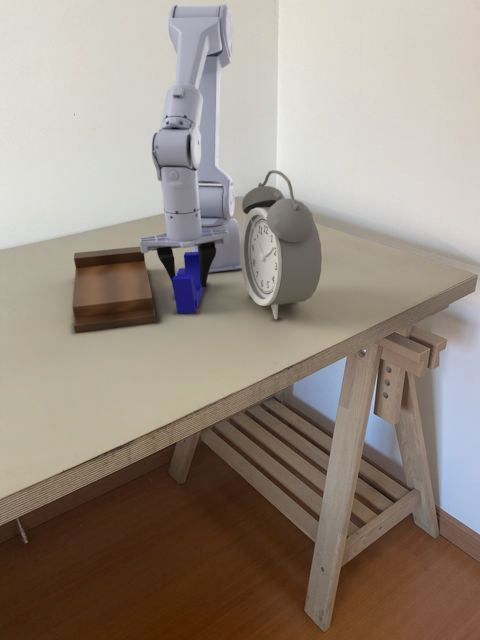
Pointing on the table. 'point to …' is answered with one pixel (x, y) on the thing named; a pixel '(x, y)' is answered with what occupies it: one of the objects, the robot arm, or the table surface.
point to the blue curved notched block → (188, 284)
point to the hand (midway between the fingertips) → (189, 287)
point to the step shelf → (111, 289)
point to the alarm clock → (278, 247)
